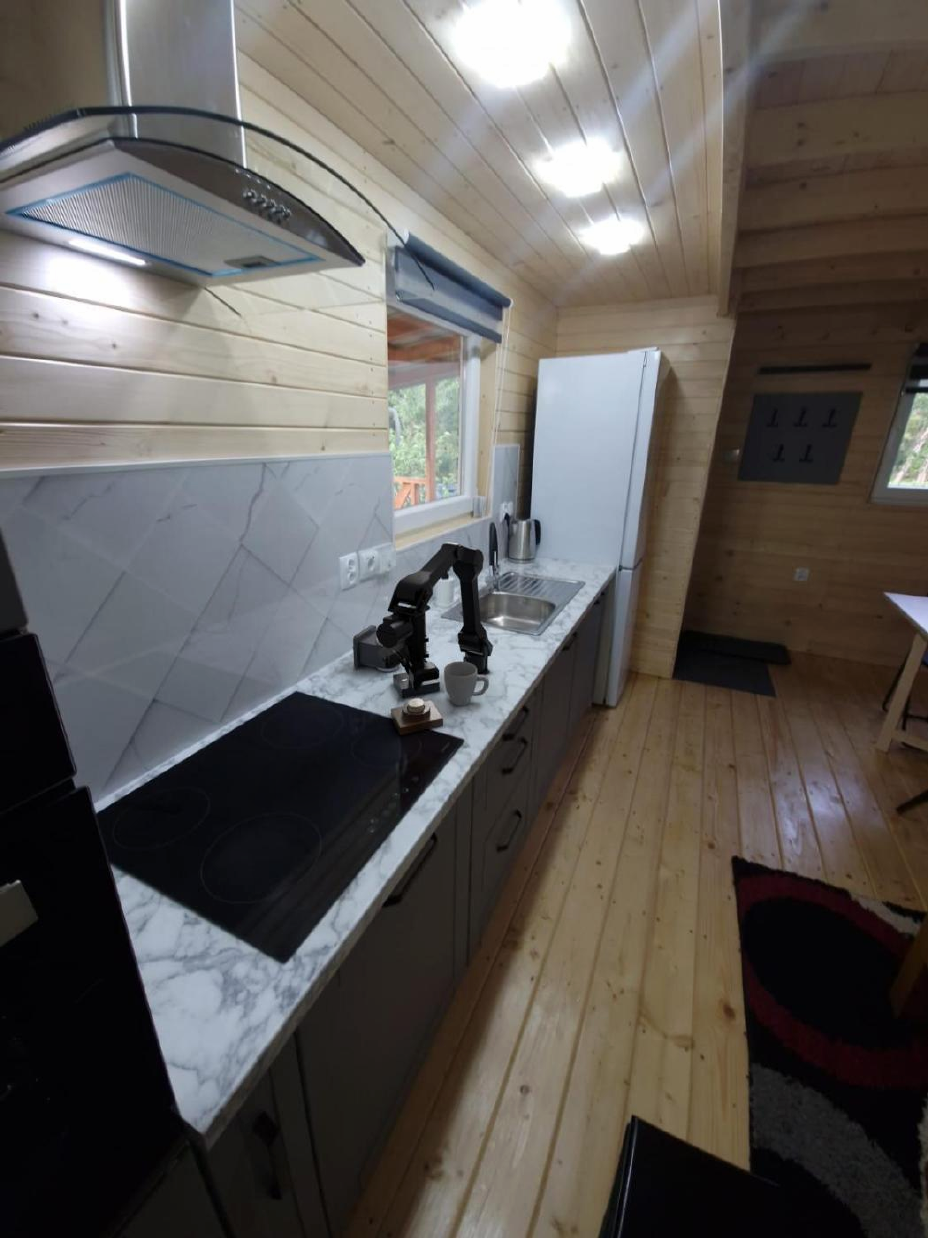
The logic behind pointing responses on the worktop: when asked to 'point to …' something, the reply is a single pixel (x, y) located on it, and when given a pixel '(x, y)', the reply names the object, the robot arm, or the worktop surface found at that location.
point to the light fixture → (368, 650)
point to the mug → (463, 682)
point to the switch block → (416, 718)
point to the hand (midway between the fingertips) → (415, 689)
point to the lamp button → (416, 705)
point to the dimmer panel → (406, 688)
